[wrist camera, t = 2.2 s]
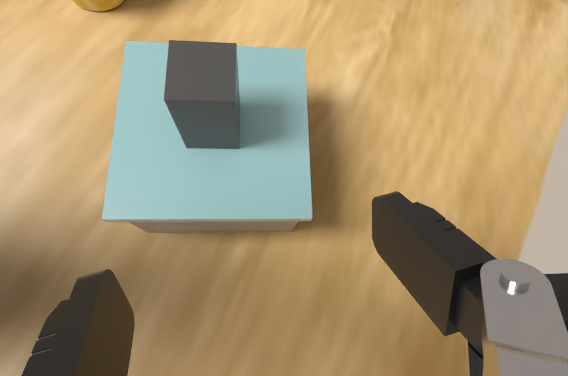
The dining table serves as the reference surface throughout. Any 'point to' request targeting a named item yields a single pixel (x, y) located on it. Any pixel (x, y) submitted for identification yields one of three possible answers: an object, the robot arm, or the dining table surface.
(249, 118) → the lid
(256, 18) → the dining table surface
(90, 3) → the plant pot
